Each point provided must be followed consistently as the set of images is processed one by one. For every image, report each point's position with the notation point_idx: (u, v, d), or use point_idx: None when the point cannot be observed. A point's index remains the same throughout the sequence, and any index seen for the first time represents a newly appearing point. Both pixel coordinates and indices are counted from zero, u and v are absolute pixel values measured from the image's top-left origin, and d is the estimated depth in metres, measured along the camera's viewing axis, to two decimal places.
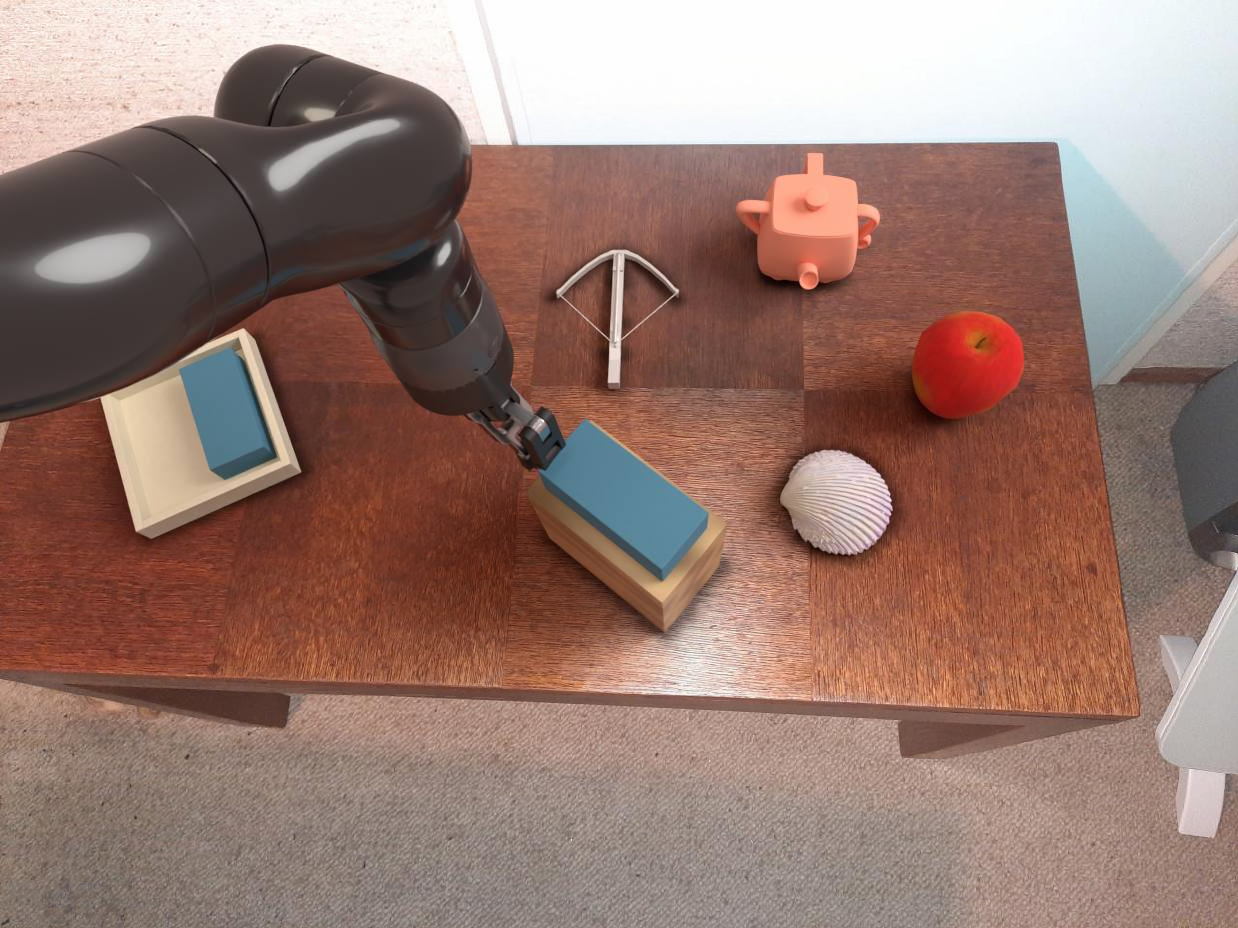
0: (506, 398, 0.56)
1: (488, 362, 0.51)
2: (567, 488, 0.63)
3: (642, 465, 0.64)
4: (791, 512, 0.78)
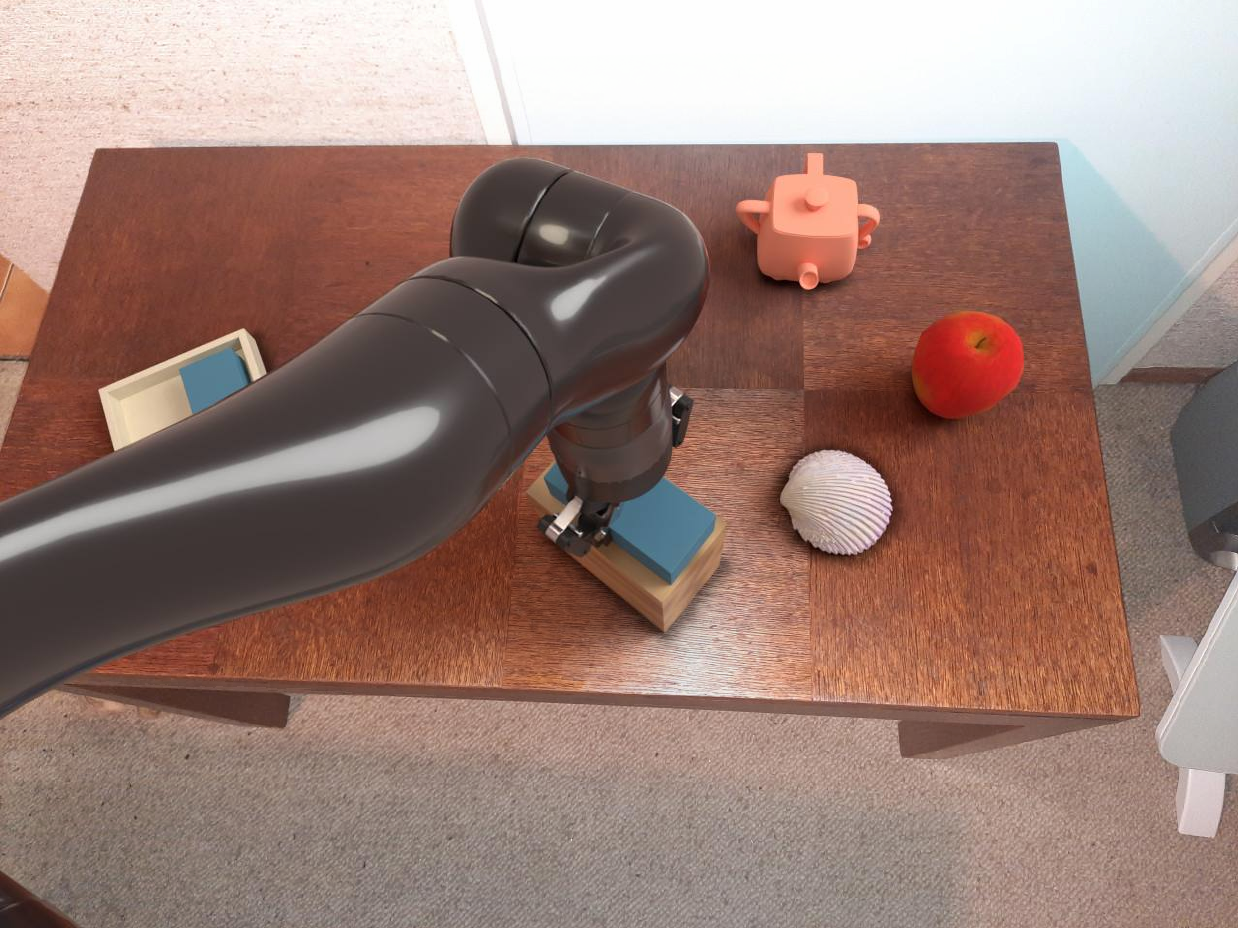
0: None
1: None
2: None
3: None
4: (791, 512, 0.78)
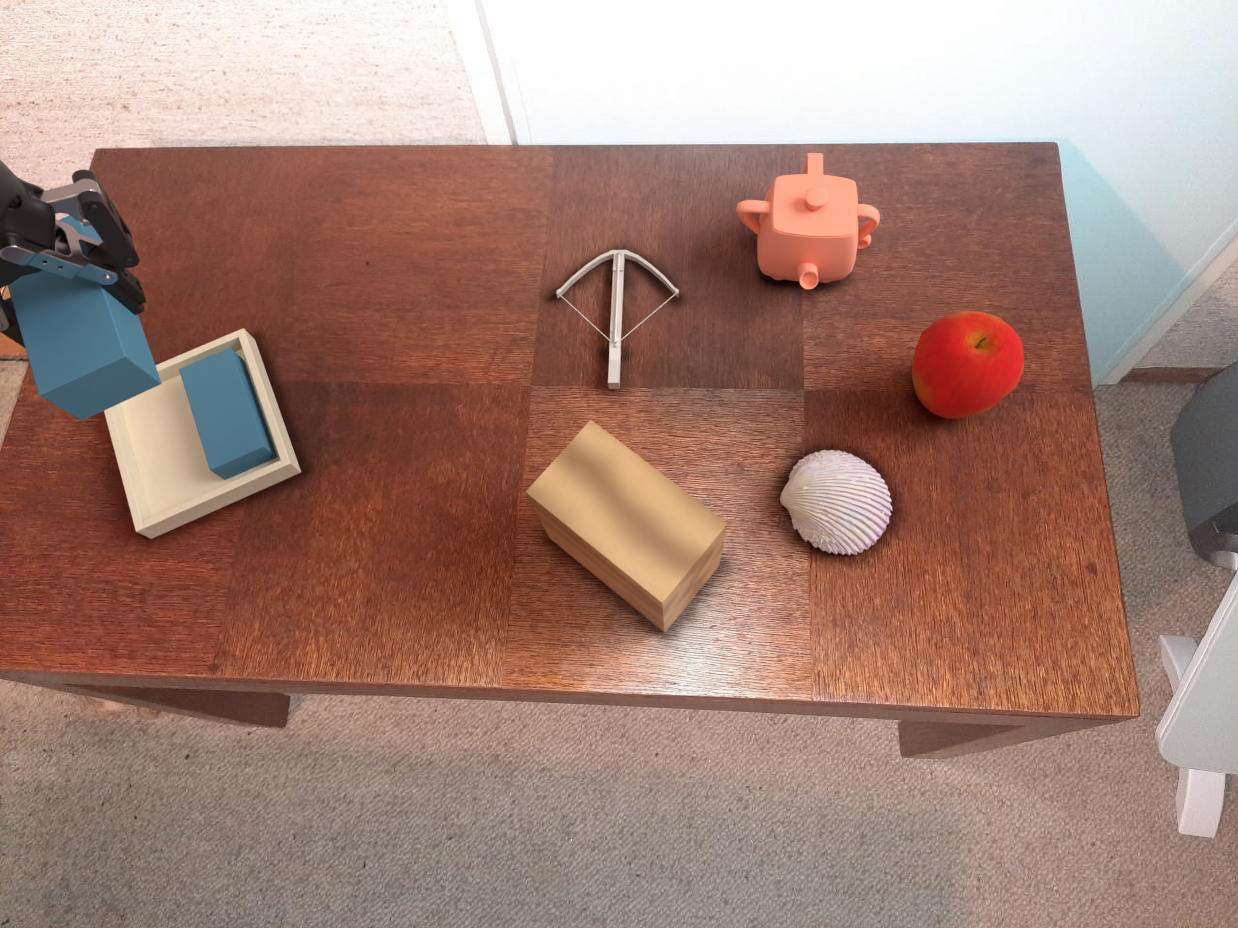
0: (24, 187, 0.47)
1: None
2: None
3: None
4: (791, 512, 0.78)
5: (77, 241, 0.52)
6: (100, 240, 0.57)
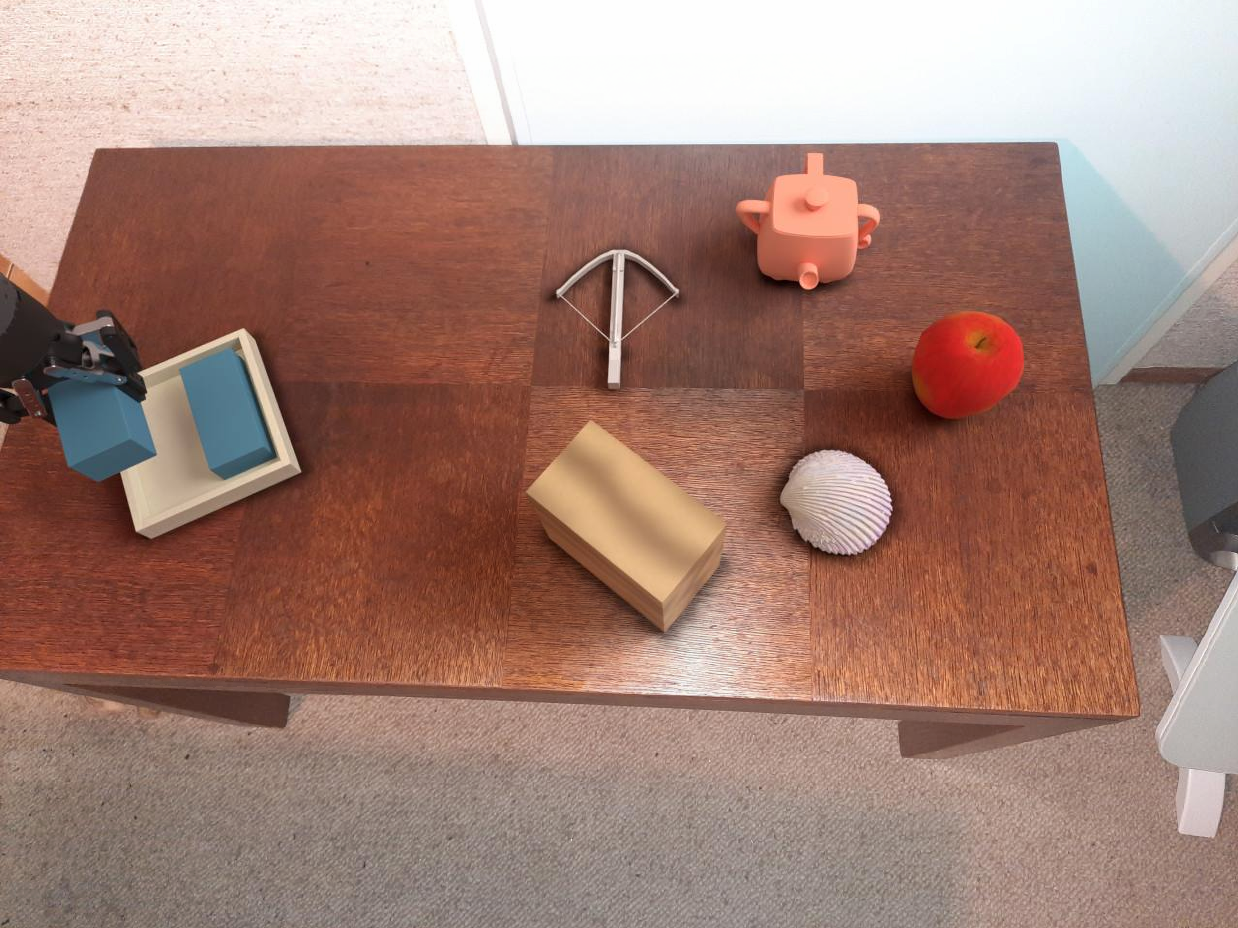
0: (62, 325, 0.66)
1: (9, 288, 0.61)
2: None
3: None
4: (791, 512, 0.78)
5: (97, 355, 0.71)
6: None
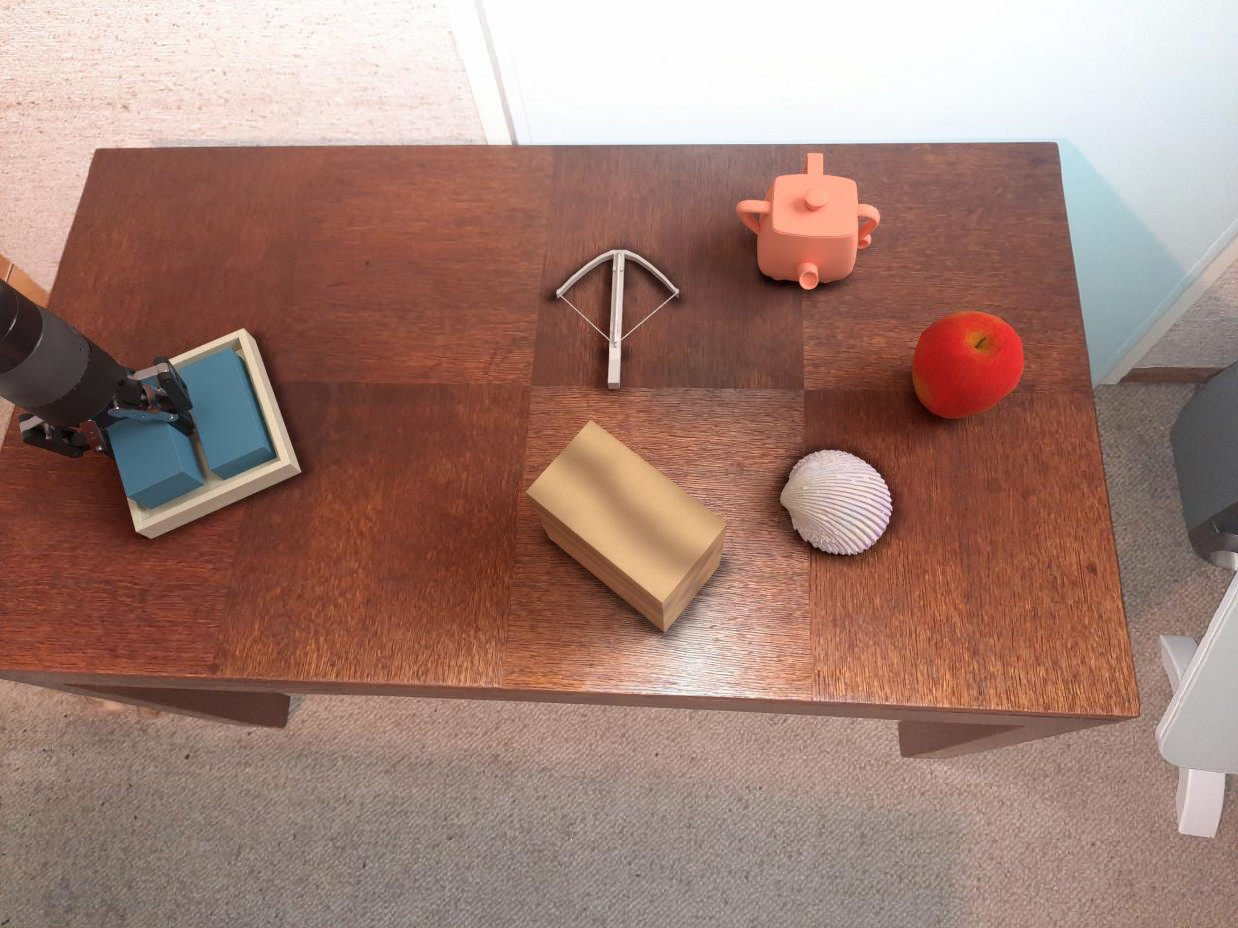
0: (124, 371, 0.74)
1: (83, 342, 0.69)
2: None
3: None
4: (791, 512, 0.78)
5: (153, 396, 0.79)
6: None
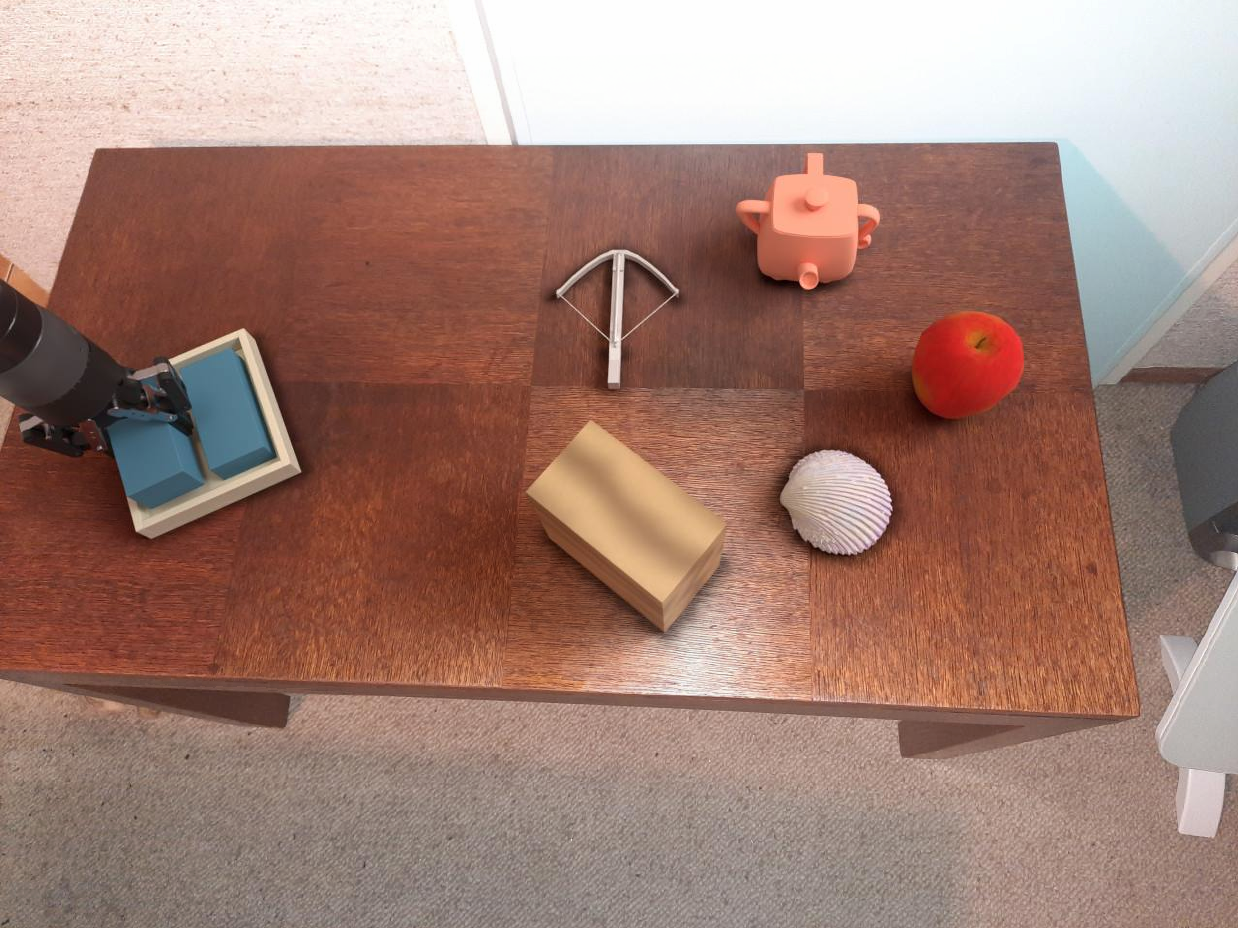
0: (124, 371, 0.74)
1: (82, 342, 0.69)
2: None
3: None
4: (791, 512, 0.78)
5: (152, 396, 0.79)
6: None
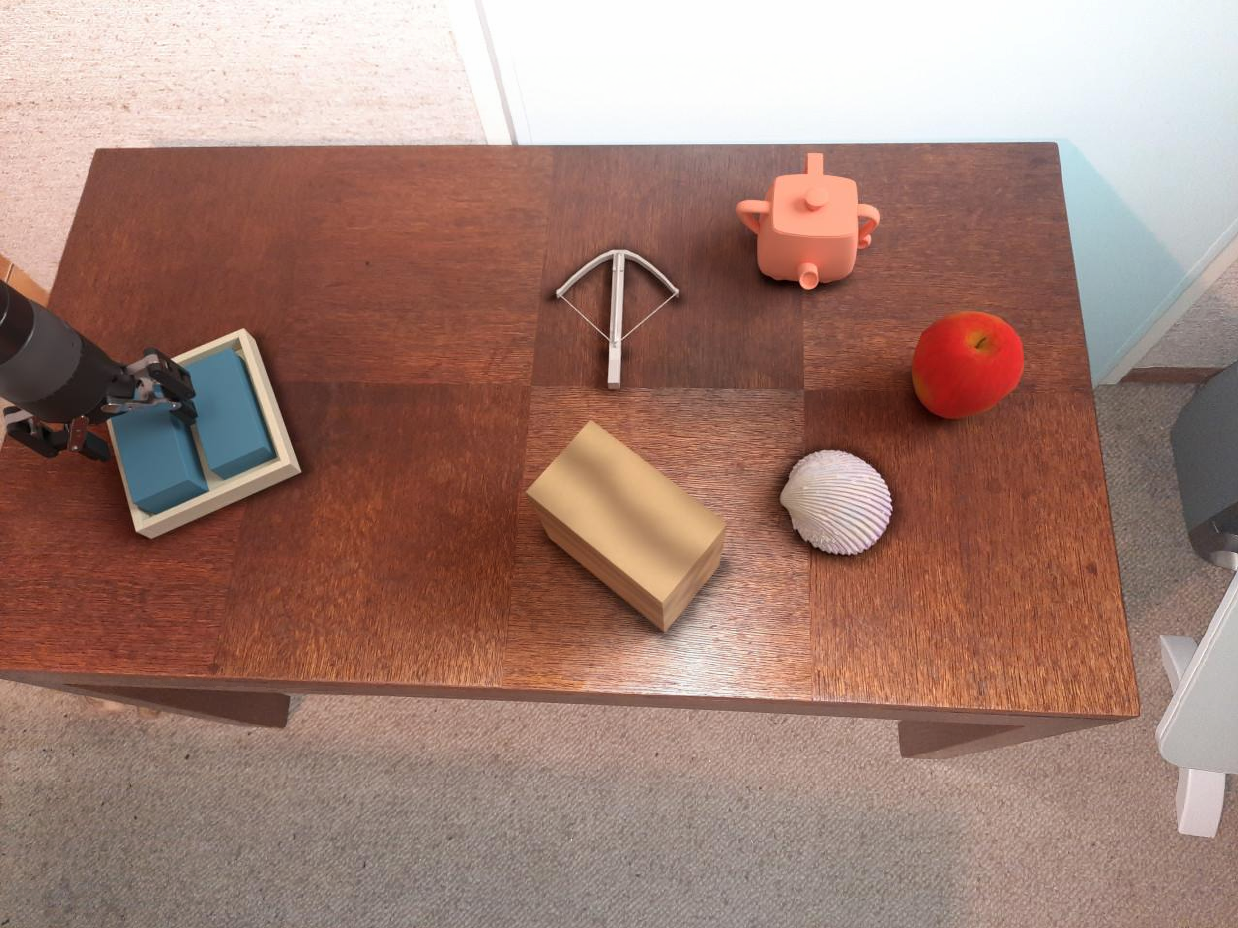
0: (118, 367, 0.73)
1: (75, 337, 0.68)
2: (114, 419, 0.83)
3: (170, 426, 0.82)
4: (791, 512, 0.78)
5: (151, 386, 0.77)
6: None
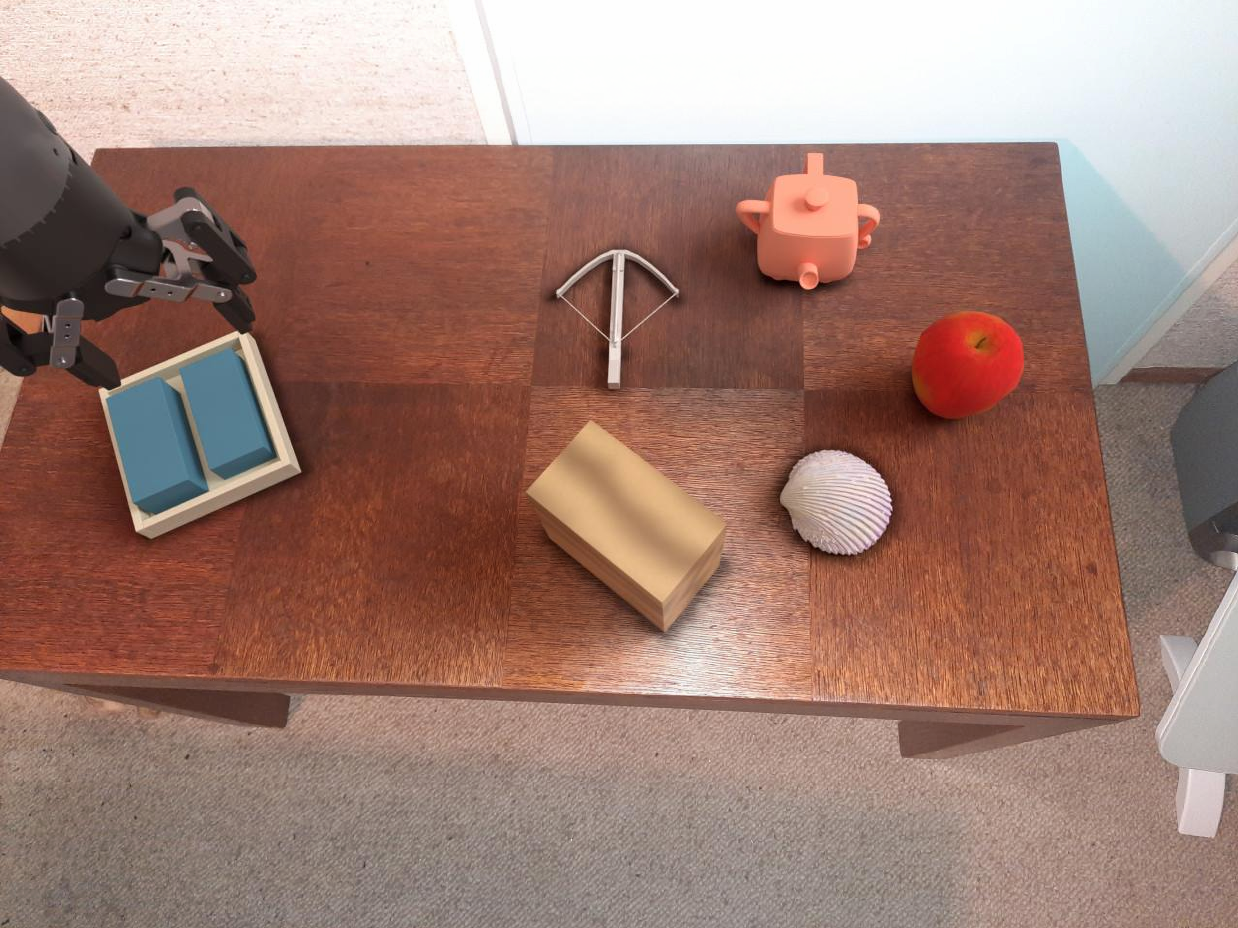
0: (133, 216, 0.43)
1: (59, 142, 0.38)
2: (114, 419, 0.83)
3: (170, 426, 0.82)
4: (791, 512, 0.78)
5: (186, 260, 0.48)
6: (172, 392, 0.86)
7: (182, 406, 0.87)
